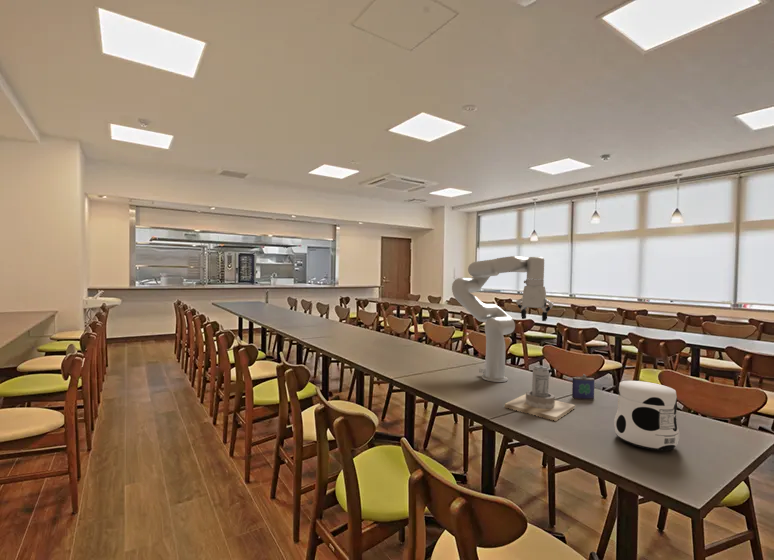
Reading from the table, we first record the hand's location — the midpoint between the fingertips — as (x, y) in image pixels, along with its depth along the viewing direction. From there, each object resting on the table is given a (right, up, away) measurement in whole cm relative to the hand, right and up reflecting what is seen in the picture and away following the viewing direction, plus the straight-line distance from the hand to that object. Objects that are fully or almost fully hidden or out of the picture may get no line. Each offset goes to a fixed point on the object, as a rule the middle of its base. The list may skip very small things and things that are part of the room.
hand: (533, 319), depth 184 cm
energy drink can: (-8, -31, -27) cm, 42 cm away
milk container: (+13, -34, -59) cm, 69 cm away
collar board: (-8, -32, -27) cm, 43 cm away
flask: (+16, -33, -13) cm, 39 cm away
